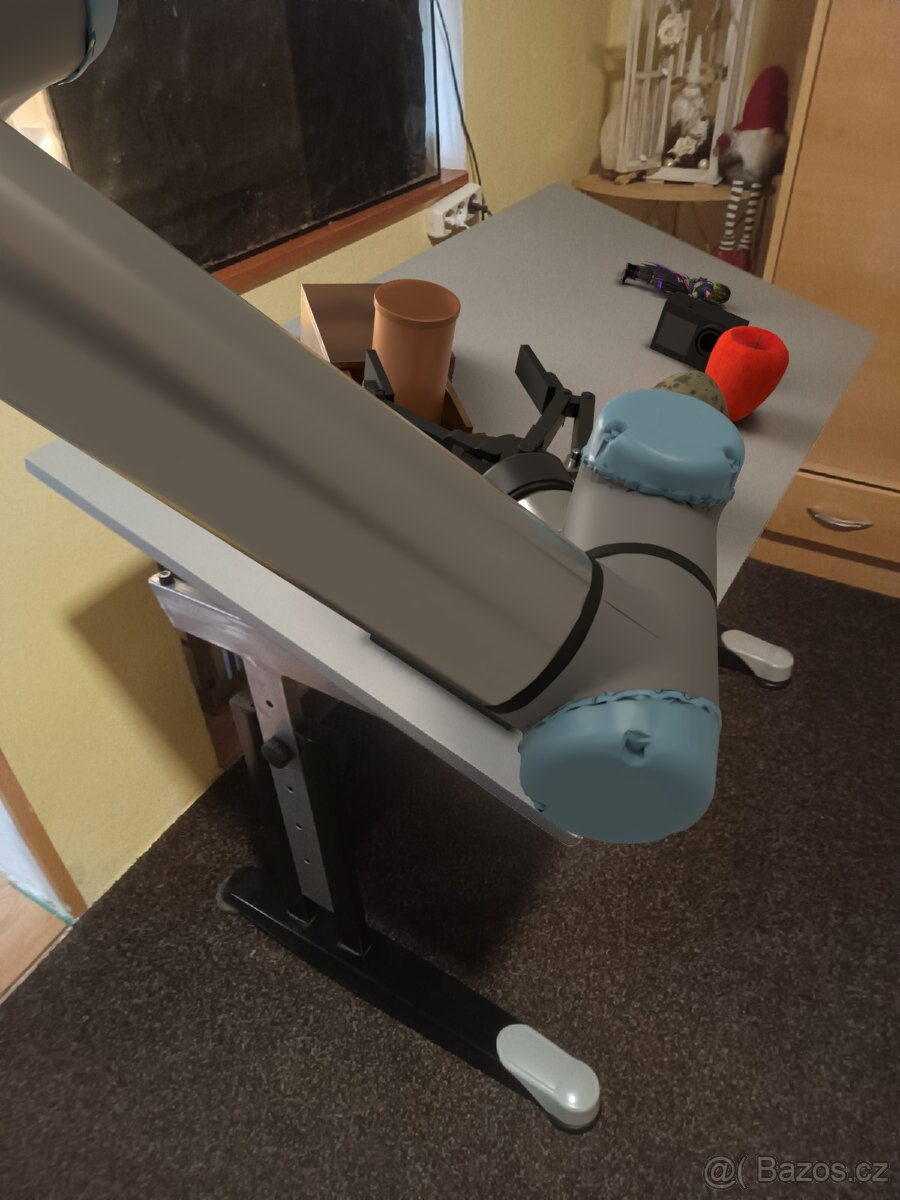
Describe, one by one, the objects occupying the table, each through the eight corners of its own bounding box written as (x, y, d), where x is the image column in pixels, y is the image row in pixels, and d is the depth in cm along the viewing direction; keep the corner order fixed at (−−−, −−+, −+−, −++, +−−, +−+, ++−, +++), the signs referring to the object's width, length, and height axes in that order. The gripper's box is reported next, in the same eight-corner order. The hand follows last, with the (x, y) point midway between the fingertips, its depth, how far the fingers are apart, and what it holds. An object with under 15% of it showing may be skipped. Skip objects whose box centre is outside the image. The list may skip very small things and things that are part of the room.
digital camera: (644, 351, 111) (661, 302, 106) (660, 337, 114) (677, 289, 109) (714, 383, 108) (735, 334, 102) (729, 368, 111) (750, 320, 106)
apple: (758, 443, 99) (798, 363, 91) (687, 423, 100) (720, 342, 92) (759, 406, 105) (797, 328, 97) (692, 387, 106) (724, 308, 98)
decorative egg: (655, 458, 94) (702, 338, 83) (720, 517, 88) (780, 396, 77) (581, 480, 89) (621, 355, 78) (645, 543, 83) (698, 418, 72)
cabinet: (446, 417, 94) (456, 357, 88) (327, 424, 89) (329, 362, 84) (408, 340, 104) (415, 282, 98) (300, 343, 100) (301, 283, 94)
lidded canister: (356, 448, 84) (366, 310, 73) (372, 405, 90) (383, 271, 79) (433, 464, 84) (454, 328, 73) (444, 420, 90) (465, 288, 79)
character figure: (615, 294, 122) (723, 321, 120) (622, 269, 119) (732, 296, 117) (626, 270, 129) (729, 295, 126) (632, 246, 126) (737, 271, 123)
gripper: (355, 586, 56) (300, 406, 69) (675, 548, 63) (569, 392, 77) (362, 501, 51) (301, 323, 64) (710, 470, 58) (590, 317, 71)
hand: (447, 360), depth 70 cm, fingers open, 13 cm apart
